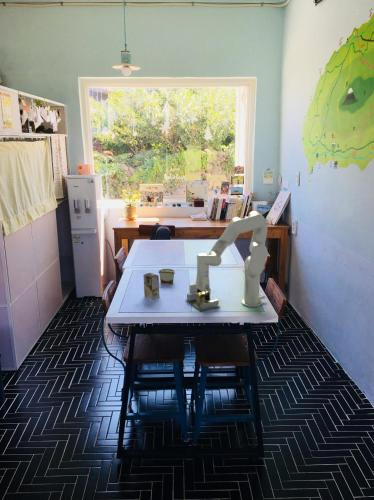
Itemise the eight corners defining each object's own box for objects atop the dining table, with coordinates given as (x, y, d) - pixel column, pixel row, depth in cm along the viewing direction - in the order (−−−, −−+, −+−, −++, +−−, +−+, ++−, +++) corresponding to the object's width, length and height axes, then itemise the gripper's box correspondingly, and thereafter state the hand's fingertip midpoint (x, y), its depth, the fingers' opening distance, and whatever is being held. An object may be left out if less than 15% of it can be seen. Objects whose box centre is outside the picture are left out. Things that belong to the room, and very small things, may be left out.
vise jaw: (201, 294, 280) (201, 282, 278) (205, 297, 275) (205, 284, 273) (185, 297, 275) (185, 285, 272) (189, 301, 270) (189, 288, 267)
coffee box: (159, 297, 279) (159, 275, 275) (152, 300, 275) (151, 277, 270) (151, 294, 285) (150, 272, 281) (143, 297, 281) (142, 274, 277)
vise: (204, 296, 279) (204, 290, 278) (219, 307, 262) (219, 299, 261) (185, 300, 273) (185, 293, 272) (200, 311, 256) (200, 304, 255)
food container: (177, 281, 309) (176, 269, 306) (174, 284, 303) (174, 271, 301) (161, 280, 312) (161, 268, 310) (158, 283, 307) (158, 270, 304)
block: (207, 300, 270) (207, 290, 268) (210, 302, 267) (210, 292, 265) (196, 303, 266) (196, 293, 265) (199, 305, 263) (199, 295, 261)
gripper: (191, 269, 267) (191, 294, 271) (204, 277, 252) (204, 303, 256) (201, 268, 270) (201, 292, 275) (215, 275, 255) (215, 301, 260)
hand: (203, 297), depth 266 cm, fingers open, 9 cm apart
